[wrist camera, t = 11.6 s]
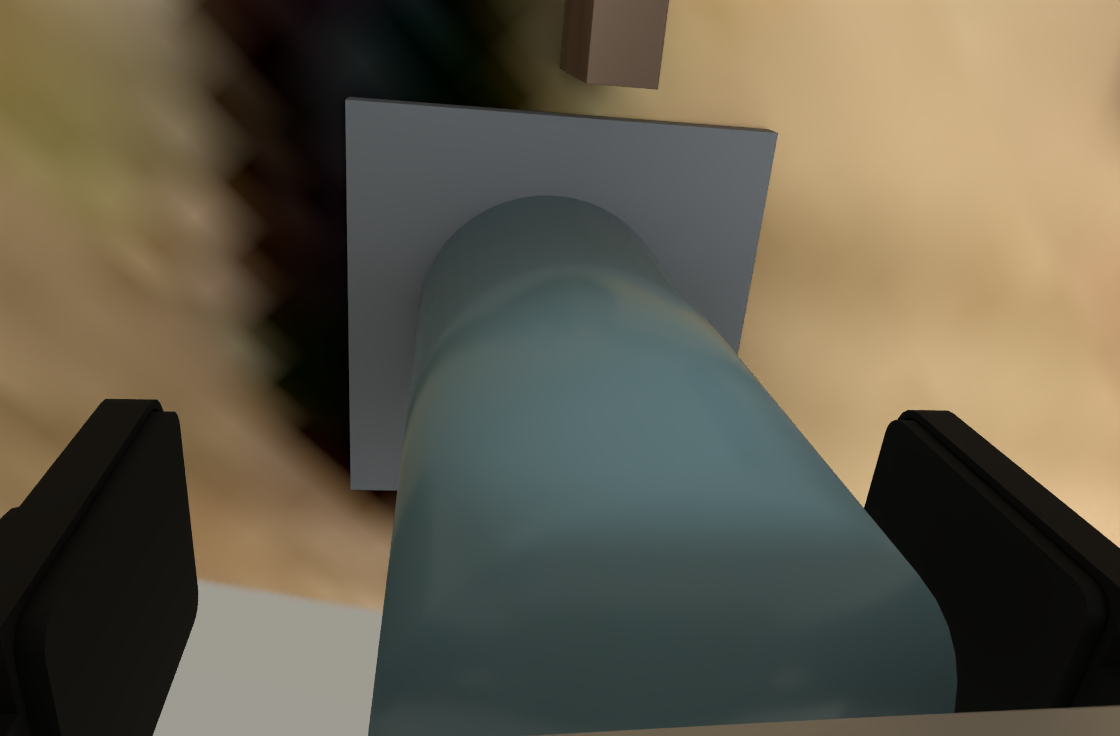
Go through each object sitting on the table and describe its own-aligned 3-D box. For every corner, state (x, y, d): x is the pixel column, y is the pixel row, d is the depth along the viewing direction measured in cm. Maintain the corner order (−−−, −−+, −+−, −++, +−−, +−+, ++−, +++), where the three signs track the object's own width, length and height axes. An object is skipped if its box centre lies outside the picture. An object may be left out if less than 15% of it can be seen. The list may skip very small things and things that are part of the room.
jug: (420, 187, 17) (362, 489, 6) (681, 202, 18) (1030, 495, 7) (416, 511, 20) (371, 1094, 9) (639, 512, 21) (839, 1052, 10)
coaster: (353, 476, 20) (350, 489, 20) (349, 96, 17) (345, 99, 16) (705, 483, 22) (712, 495, 21) (768, 129, 18) (777, 133, 18)
